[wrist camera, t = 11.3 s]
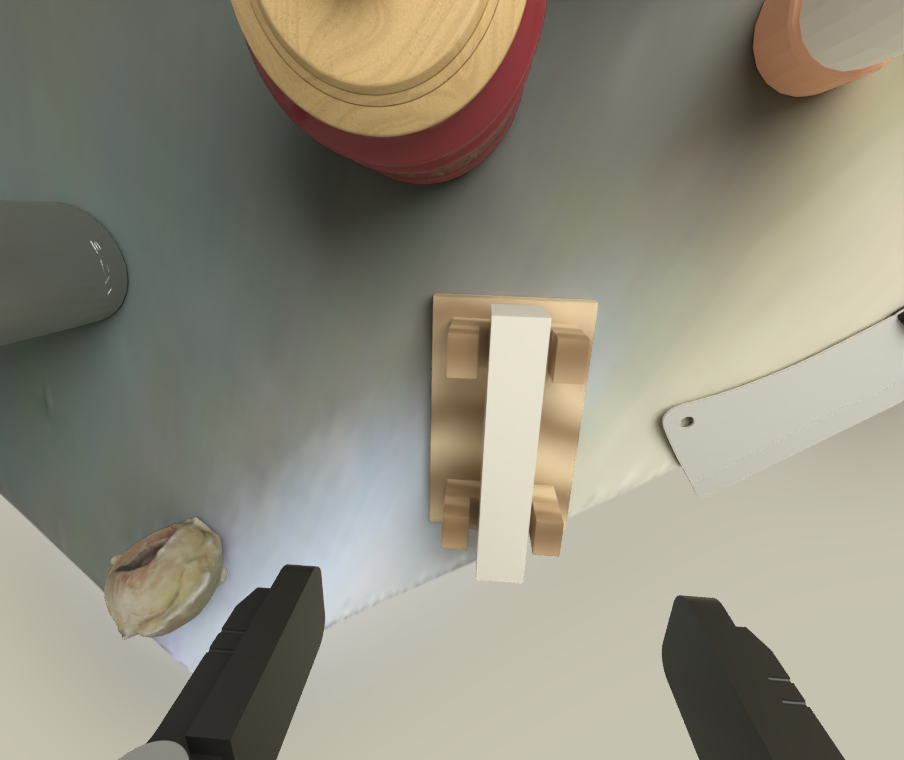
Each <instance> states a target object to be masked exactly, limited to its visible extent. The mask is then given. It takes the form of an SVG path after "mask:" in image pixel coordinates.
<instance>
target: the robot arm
mask: <svg viewBox="0 0 904 760" xmlns="http://www.w3.org/2000/svg"><path fill="white" fill-rule="evenodd" d="M126 291H127V271H126V266H125V263H124V259H123V256H122V254H121V252H120V250H119V248H118V246H117V244H116V242H115V241H114V239H113V238H112V237H111V235H110V234H109V233H108V231H107V230H106V229H105V228H104V227H103V226H102V225H101V224H100V223H99V222H98V221H97V220H95V219H94V218H92V217H91V216H90V215H88V214H87V213H85V212H84V211H81V210H79V209H77V208H75V207H73V206H69V205H65V204H61V203H47V202H27V201H7V200H0V346H4V345H8V344H11V343H15V342H19V341H23V340H27V339H31V338H35V337H39V336H43V335H46V334H50V333H55V332H59V331H63V330H67V329H71V328H74V327H78V326H82V325H86V324H90V323H94V322H98V321H101V320H103V319H105V318H108V317H110V316H111V315H112V314H113V313H115V312H116V311H117V310H118V308H119V307H120V305H121V304H122V302H123V300H124V297H125V294H126ZM324 624H325V611H324V600H323V589H322V577H321V570H320V568H319V567H315V566H301V565H288V564H287V565H285V566H284V567H283V568H282V569H281V571H280V573H279V574H278V576H277V578H276V580H275V581H274V583H273V585H272V586H271V588H256V589H255V590H254V591H253V592H252V593H251V594H249V595H248V596H247V597H246V598H245V599H244V600H243V601H241V602H240V603H239V604H238V605H237V606H236V607H235V609H234V610H233V612H232V613H231V615H230V617H229V618H228V620H227V621H226V623H225V624H224V626H223V627H222V631H221V633H219V634H218V635H217V637H216V638H215V640H214V641H213V643H212V645H211V646H210V649H209V652H208V653H206V654H205V655H204V657H203V659H202V660H201V662H200V663H199V665H198V666H197V668H196V670H195V671H194V673H193V674H192V676H191V678H190V679H189V680H188V682H187V684H186V685H185V687H184V688H183V690H182V692H181V693H180V695H179V696H178V698H177V699H176V701H175V702H174V704H173V705H172V707H171V708H170V710H169V712H168V713H167V715H166V716H165V718H164V719H163V721H162V723H161V724H160V726H159V727H158V729H157V730H156V732H155V733H154V735H153V736H152V737H151V738H150V740H149V741H148V742H147V743H146V744H145V745H142V746H140V747H138V748H136V749H134V750H132V751H130V752H129V753H127V754H126V755H124V756H123V757H121V758H120V759H118V760H276V759H277V756H278V754H279V751H280V749H281V746H282V743H283V741H284V738H285V736H286V733H287V730H288V728H289V725H290V722H291V720H292V717H293V715H294V712H295V710H296V707H297V704H298V702H299V699H300V696H301V694H302V691H303V688H304V686H305V683H306V681H307V678H308V676H309V673H310V670H311V668H312V665H313V663H314V660H315V657H316V655H317V652H318V650H319V647H320V644H321V640H322V636H323V631H324ZM662 661H663V667H664V672H665V675H666V678H667V680H668V683H669V685H670V688H671V690H672V693H673V695H674V698H675V700H676V703H677V705H678V708H679V710H680V713H681V715H682V718H683V720H684V723H685V725H686V728H687V730H688V733H689V735H690V738H691V740H692V742H693V745H694V748H695V750H696V753H697V755H698V758H699V760H845V759H844V757H843V756H842V754H841V753H840V752H839V750H838V749H837V747H836V746H835V744H834V743H833V741H832V740H831V738H830V737H829V735H828V734H827V732H826V731H825V729H824V728H823V726H822V725H821V723H820V722H819V720H818V719H817V718H816V716H815V714H814V713H813V711H812V710H811V709H810V707H807V706H806V704H805V700H804V698H803V697H802V695H801V694H800V692H799V691H798V689H797V688H796V686H795V685H794V683H791V682H790V677H789V676H788V674H787V673H786V672H785V670H784V668H783V667H782V666H781V664H780V663H779V661H778V660H777V658H776V657H775V655H774V654H773V652H772V651H771V650H770V649H769V648H768V647H767V646H766V645H765V644H764V643H762V642H761V641H760V640H759V639H758V638H757V637H756V636H755V635H754V634H753V633H752V632H751V631H750V630H748V629H747V628H746V627H736V626H735V625H734V623H733V621H732V620H731V618H730V616H729V615H728V613H727V612H726V610H725V608H724V607H723V606H722V604H721V603H720V602H719V601H718V600H717V599H715V598H706V597H692V596H677V597H676V598H675V600H674V603H673V607H672V611H671V615H670V618H669V622H668V626H667V629H666V633H665V637H664V641H663V645H662Z"/></svg>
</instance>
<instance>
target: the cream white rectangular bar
mask: <svg viewBox="0 0 904 760" xmlns="http://www.w3.org/2000/svg"><path fill="white" fill-rule="evenodd" d="M550 328H551V317H550V315H549V314H548V312H547V311H546V310H545V308H544V307H543V306H534V305H509V304H491V307H490V324H489V341H488V358H487V375H486V392H485V409H484V426H483V443H482V460H481V477H480V494H479V511H478V528H477V549H476V580H480V581H495V582H508V583H521V584H522V583H523V578H524V569H525V559H526V551H527V550H526V549H527V541H528V532H529V523H530V514H531V504H532V495H533V486H534V476H535V467H536V458H537V449H538V439H539V430H540V421H541V411H542V402H543V393H544V384H545V374H546V365H547V356H548V346H549V337H550Z"/></svg>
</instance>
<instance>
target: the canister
mask: <svg viewBox="0 0 904 760" xmlns="http://www.w3.org/2000/svg"><path fill="white" fill-rule="evenodd" d="M231 3H232V6H233V9H234V12H235V15H236V17H237V20H238V22H239V25H240V27H241V30H242V32H243V34H244V37H245V40H246V43H247V46H248V49H249V51H250V54H251V56H252V59H253V61H254V63H255V65H256V68H257V70H258V72H259V74H260V76H261V77H262V79H263V81H264V83H265V85H266V86H267V88H268V89H269V91H270V93H271V94H272V96H273V97H274V99H275V100H276V101H277V103H278V104H279V105H280V107H281V108H282V109H283V110H284V111H285V113H286V114H287V115H288V116H289V117H290V118H291V119H292V120H293V121H294V122H295V123H296V124H297V125H298V126H299V127H300V128H301V129H302V130H303V131H304V132H305V133H307V134H308V135H309V136H310V137H312V138H313V139H314V140H316V141H317V142H319V143H320V144H322V145H323V146H325V147H326V148H328V149H330V150H332V151H334V152H336V153H338V154H340V155H342V156H344V157H347V158H349V159H351V160H353V161H355V162H357V163H359V164H361V165H363V166H366V167H369V168H371V169H373V170H375V171H376V172H378V173H380V174H382V175H384V176H387V177H389V178H392V179H395V180H397V181H401V182H405V183H411V184H435V183H440V182H445V181H448V180H451V179H454V178H457V177H459V176H461V175H463V174H465V173H467V172H469V171H470V170H472V169H473V168H475V167H476V166H478V165H479V164H480V163H481V162H483V161H484V160H485V159H486V158H487V157H488V156H489V155H490V154H491V153H492V152H493V151H494V150H495V148H496V147H497V146H498V145H499V143H500V142H501V141H502V139H503V138H504V136H505V134H506V133H507V131H508V129H509V127H510V125H511V123H512V121H513V119H514V117H515V114H516V112H517V109H518V106H519V103H520V100H521V96H522V92H523V88H524V84H525V81H526V79H527V76H528V73H529V70H530V67H531V63H532V59H533V56H534V54H535V51H536V48H537V45H538V42H539V38H540V35H541V31H542V27H543V22H544V17H545V11H546V4H547V0H231Z"/></svg>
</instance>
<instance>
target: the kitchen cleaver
mask: <svg viewBox="0 0 904 760" xmlns="http://www.w3.org/2000/svg"><path fill="white" fill-rule="evenodd" d="M902 401H904V307H903V308H901V309H899V310H898V311H896V312H894V313H893V314H892V316H891V317H889V318H887V319H885V320H883V321H881V322H879V323H877V324H875V325H873V326H871V327H869V328H867V329H865V330H863V331H861V332H859V333H857V334H856V335H854V336H852V337H850V338H848V339H846V340H844V341H842V342H840V343H838V344H836V345H834V346H832V347H830V348H828V349H826V350H824V351H822V352H820V353H818V354H816V355H814V356H812V357H810V358H808V359H805V360H803V361H801V362H799V363H797V364H795V365H792V366H790V367H788V368H786V369H783V370H781V371H778V372H776V373H773V374H771V375H768V376H766V377H763V378H761V379H758V380H756V381H753V382H750V383H748V384H745V385H742V386H739V387H737V388H734V389H731V390H728V391H725V392H722V393H719V394H716V395H712V396H709V397H705V398H702V399H698V400H695V401H691V402H687V403H684V404H681V405H678V406H675V407H673V408H671V409H669V410H668V411H667V412H666V413H665V414H664V415H663V418H662V424H663V428H664V431H665V433H666V436H667V438H668V440H669V442H670V445H671V447H672V449H673V451H674V453H675V455H676V457H677V459H678V461H679V463H680V465H681V466H682V468H683V470H684V472H685V473H686V475H687V477H688V479H689V481H690V483H691V485H692V487H693V489H694V492H695V493H696V495H697V496H698V498H701V499H702V498H705V497H707V496H709V495H711V494H713V493H716V492H718V491H720V490H722V489H724V488H727V487H729V486H731V485H733V484H735V483H737V482H739V481H742V480H744V479H746V478H748V477H750V476H752V475H754V474H756V473H758V472H760V471H762V470H764V469H766V468H768V467H770V466H772V465H774V464H776V463H778V462H780V461H782V460H784V459H787V458H789V457H791V456H793V455H795V454H797V453H799V452H801V451H803V450H805V449H807V448H809V447H811V446H813V445H815V444H817V443H819V442H821V441H823V440H825V439H827V438H829V437H831V436H833V435H835V434H837V433H839V432H841V431H843V430H846V429H847V428H849V427H852V426H854V425H856V424H858V423H860V422H862V421H864V420H866V419H868V418H870V417H872V416H874V415H876V414H879V413H880V412H883V411H884V410H887V409H889V408H890V407H892V406H894V405H896V404H898V403H900V402H902ZM685 417H692V418H693V422H692V424H691V425H689V426H687V427H682V426H681V425H680V423H681V420H682V419H683V418H685Z"/></svg>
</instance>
